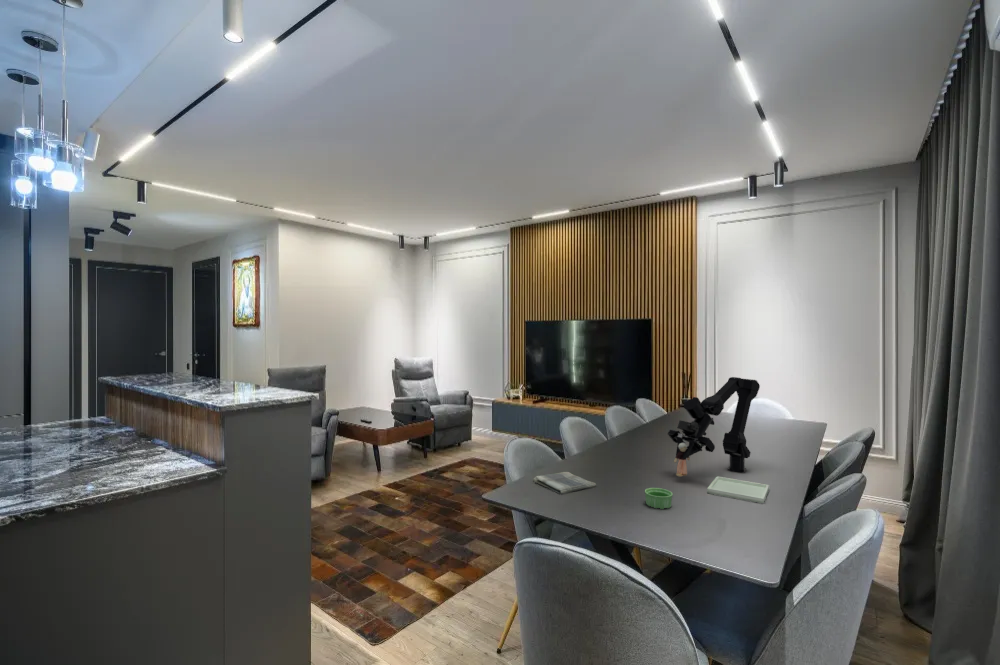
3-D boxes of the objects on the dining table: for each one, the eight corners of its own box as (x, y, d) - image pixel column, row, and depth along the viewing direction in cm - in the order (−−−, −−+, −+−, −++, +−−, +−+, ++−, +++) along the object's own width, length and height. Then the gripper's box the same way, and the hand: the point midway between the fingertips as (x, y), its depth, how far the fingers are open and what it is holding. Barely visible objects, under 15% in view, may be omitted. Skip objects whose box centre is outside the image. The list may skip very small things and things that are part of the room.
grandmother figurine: (680, 478, 184) (681, 445, 183) (672, 475, 187) (672, 442, 186) (692, 474, 188) (693, 442, 188) (683, 471, 191) (684, 440, 191)
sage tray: (716, 480, 189) (716, 476, 189) (769, 489, 178) (769, 485, 178) (707, 493, 174) (707, 488, 174) (763, 504, 164) (763, 498, 164)
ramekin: (638, 502, 164) (639, 489, 164) (660, 499, 168) (660, 486, 168) (656, 511, 156) (656, 498, 156) (678, 507, 159) (678, 494, 159)
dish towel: (598, 488, 180) (598, 479, 180) (560, 496, 171) (560, 487, 171) (566, 475, 196) (566, 467, 196) (530, 482, 186) (530, 473, 186)
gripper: (670, 409, 197) (651, 439, 192) (710, 417, 181) (689, 449, 176) (683, 426, 201) (665, 456, 196) (723, 435, 185) (704, 468, 180)
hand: (679, 457), depth 187 cm, fingers closed on grandmother figurine, 3 cm apart
